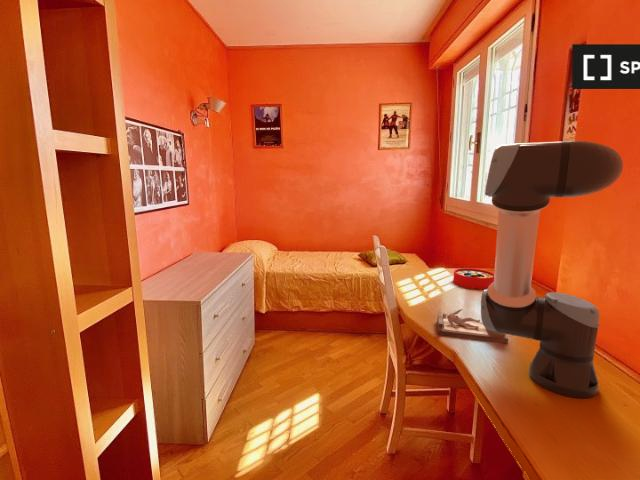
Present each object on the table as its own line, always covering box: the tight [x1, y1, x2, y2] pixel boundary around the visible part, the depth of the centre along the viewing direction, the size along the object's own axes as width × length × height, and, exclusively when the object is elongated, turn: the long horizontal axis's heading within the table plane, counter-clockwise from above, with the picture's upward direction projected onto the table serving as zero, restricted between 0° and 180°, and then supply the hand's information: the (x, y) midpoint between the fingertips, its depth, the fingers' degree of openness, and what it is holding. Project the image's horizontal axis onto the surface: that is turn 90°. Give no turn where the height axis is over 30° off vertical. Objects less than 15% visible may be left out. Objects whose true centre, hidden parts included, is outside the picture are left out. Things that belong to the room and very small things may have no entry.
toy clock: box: [452, 267, 495, 290], centre depth 179 cm, size 20×6×20 cm
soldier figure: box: [442, 308, 481, 329], centre depth 122 cm, size 8×5×12 cm
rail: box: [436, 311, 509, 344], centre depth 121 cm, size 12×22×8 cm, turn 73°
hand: (518, 256), depth 121 cm, fingers open, 13 cm apart
